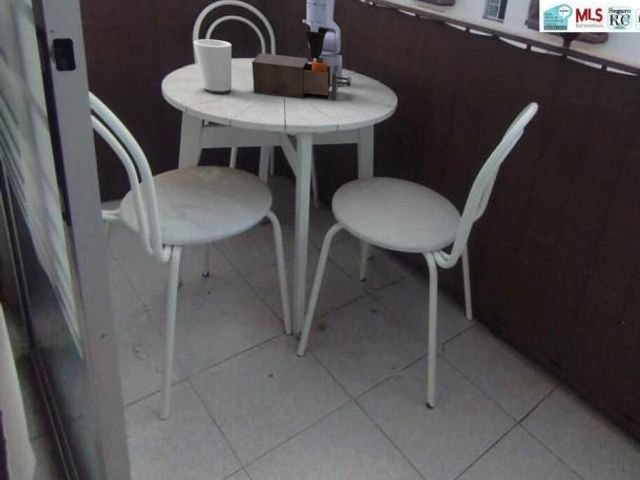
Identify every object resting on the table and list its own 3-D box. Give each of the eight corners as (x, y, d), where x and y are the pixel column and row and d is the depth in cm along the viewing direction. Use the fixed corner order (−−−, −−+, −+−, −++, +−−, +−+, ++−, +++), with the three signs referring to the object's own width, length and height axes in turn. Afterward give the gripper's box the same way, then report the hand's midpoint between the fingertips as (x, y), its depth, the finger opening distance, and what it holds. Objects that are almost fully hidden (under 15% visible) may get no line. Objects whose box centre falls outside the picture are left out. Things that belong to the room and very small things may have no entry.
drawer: (351, 89, 166) (352, 67, 162) (349, 99, 156) (350, 75, 152) (295, 83, 164) (295, 60, 160) (290, 93, 154) (290, 68, 150)
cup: (193, 91, 146) (186, 42, 138) (210, 84, 154) (205, 37, 146) (225, 97, 145) (220, 48, 137) (241, 90, 153) (237, 43, 145)
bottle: (326, 86, 162) (326, 57, 157) (327, 89, 158) (327, 60, 153) (311, 85, 160) (311, 55, 155) (312, 88, 157) (312, 59, 152)
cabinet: (308, 87, 165) (307, 58, 160) (303, 98, 154) (302, 67, 149) (262, 82, 163) (260, 52, 158) (254, 92, 152) (251, 61, 147)
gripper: (305, 0, 151) (305, 51, 159) (299, 4, 139) (300, 58, 147) (329, 3, 152) (328, 53, 160) (325, 7, 140) (324, 61, 148)
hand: (316, 56), depth 153 cm, fingers open, 7 cm apart
